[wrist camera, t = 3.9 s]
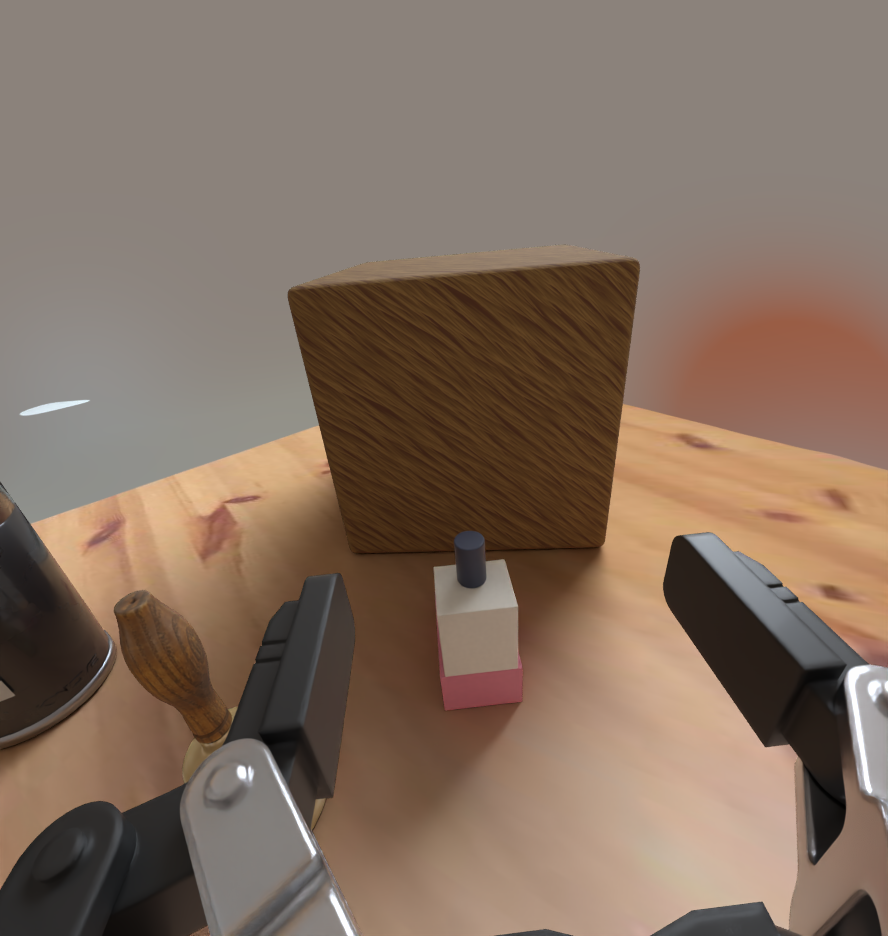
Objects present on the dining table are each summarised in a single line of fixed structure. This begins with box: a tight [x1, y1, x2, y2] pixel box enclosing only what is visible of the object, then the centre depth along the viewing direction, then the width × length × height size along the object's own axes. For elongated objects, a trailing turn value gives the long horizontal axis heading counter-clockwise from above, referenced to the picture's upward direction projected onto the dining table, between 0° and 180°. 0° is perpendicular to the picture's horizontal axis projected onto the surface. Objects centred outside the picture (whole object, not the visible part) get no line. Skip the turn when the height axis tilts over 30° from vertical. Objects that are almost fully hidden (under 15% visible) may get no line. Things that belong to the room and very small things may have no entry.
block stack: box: [434, 531, 523, 711], centre depth 29 cm, size 10×5×12 cm, turn 4°
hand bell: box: [114, 590, 326, 830], centre depth 21 cm, size 8×8×16 cm
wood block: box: [288, 245, 640, 553], centre depth 46 cm, size 25×25×25 cm
